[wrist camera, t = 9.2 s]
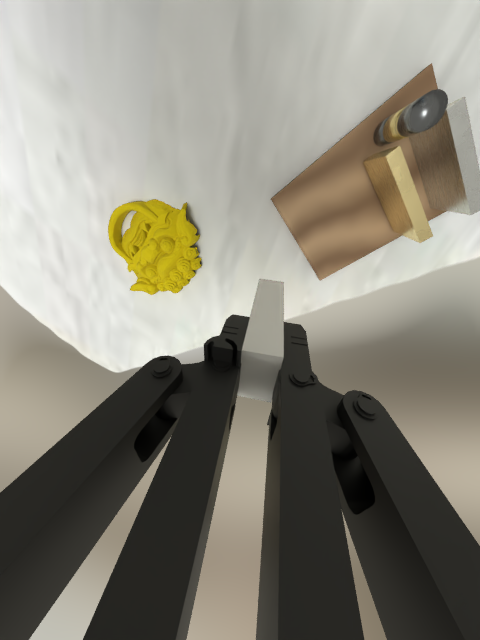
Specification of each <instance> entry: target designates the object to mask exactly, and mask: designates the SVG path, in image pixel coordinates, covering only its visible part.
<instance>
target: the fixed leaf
mask: <svg viewBox="0 0 480 640" xmlns="http://www.w3.org/2000/svg"><path fill="white" fill-rule="evenodd" d="M447 104H448V98H447V95H446V93H445V92H444V91H443V90H440V89H436V90H432V91H430V92H428V93H426V94H425V95H423V96H421V97H420V98H418V99H417V100H415V101H413V102H412V103H410V104H409V105H408V106H407V107H406V108H405V109H404V110H403V111H402V113H401V114H400V116H399V119H398V122H397V130H398V132H399V134H400V135H401V136H404V137H409V140H410V143H411V147H412V150H413V153H414V156H415V160H416V163H417V166H418V170H419V173H420V176H421V179H422V183H423V186H424V189H425V193H426V196H427V199H428V202H429V206H430V208H433V209H438V210H444V211H450V212H456V213H461V214H467V215H472V214H474V213H476V212H478V211H480V171H479V166H478V161H477V156H476V151H475V145H474V140H473V135H472V130H471V125H470V120H469V115H468V110H467V105H466V99H465V97H463V98H461V99H459V100H456V101H454V102H452V103H450V104H448V105H447ZM391 116H392V115H391ZM389 118H390V116H389V117H388V118H386V119H385V120H383V121H382V122H380V123H379V125H378V126H377V127H376V129H375V131H374V135H373V140H374V143H375V144H376V145H377V146H385V145H388V144H390V143H393V142H387V141H386V140H385V139H384V137H383V128H384V125H385V123H386V121H387V120H388V119H389Z"/></svg>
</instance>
